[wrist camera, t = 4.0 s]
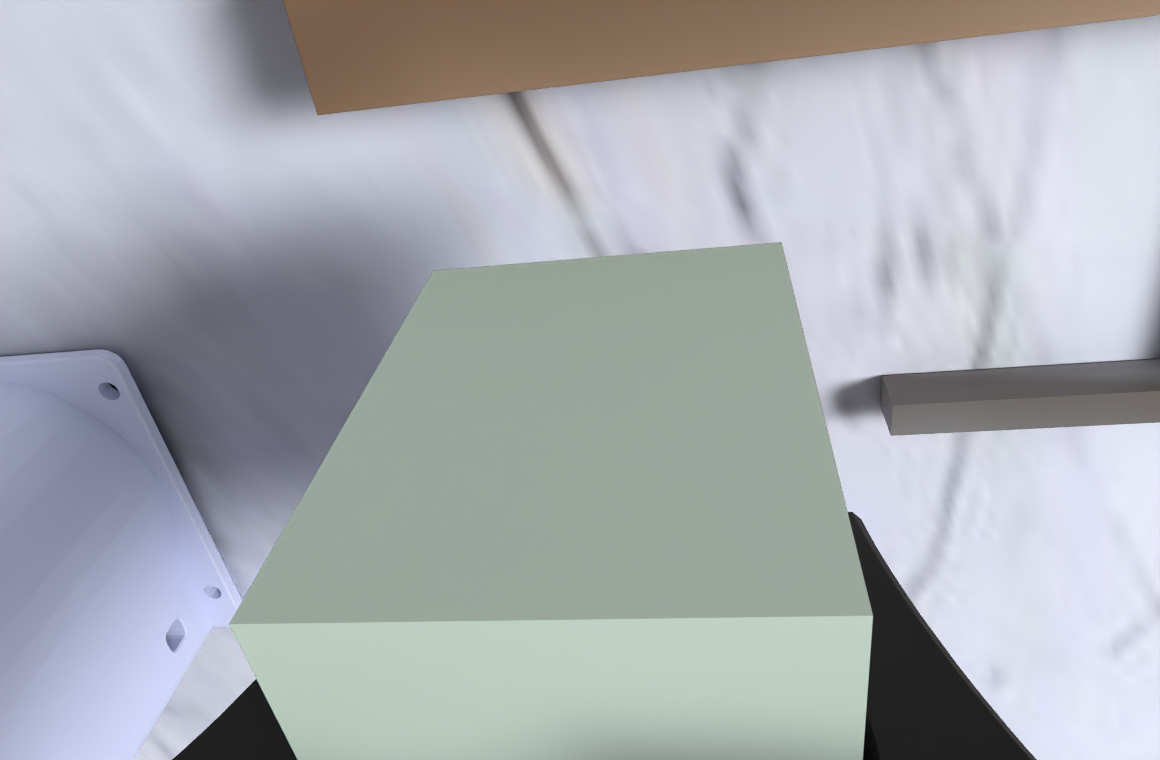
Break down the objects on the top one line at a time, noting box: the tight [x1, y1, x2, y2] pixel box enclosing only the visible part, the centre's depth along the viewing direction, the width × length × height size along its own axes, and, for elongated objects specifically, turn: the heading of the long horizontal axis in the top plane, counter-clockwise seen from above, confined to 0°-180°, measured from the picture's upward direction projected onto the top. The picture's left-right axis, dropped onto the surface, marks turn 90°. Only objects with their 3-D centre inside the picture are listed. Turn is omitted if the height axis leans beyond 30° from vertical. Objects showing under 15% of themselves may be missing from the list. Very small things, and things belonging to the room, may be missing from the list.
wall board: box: [283, 0, 1160, 436], centre depth 16 cm, size 11×18×3 cm, turn 98°
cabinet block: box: [229, 242, 873, 760], centre depth 10 cm, size 8×4×6 cm, turn 8°
